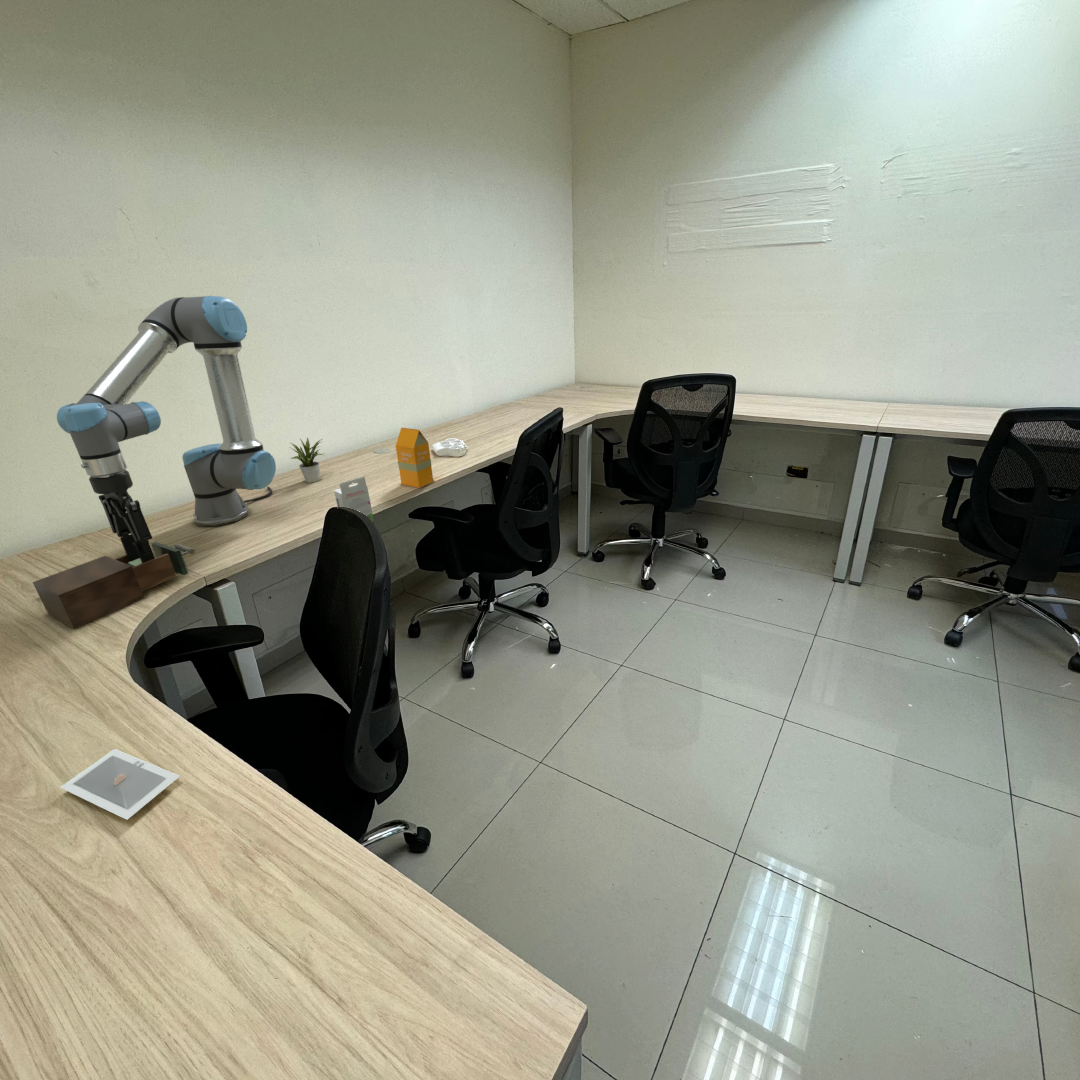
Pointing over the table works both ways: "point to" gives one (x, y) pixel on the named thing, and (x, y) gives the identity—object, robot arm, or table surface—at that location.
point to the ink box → (354, 496)
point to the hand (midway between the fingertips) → (143, 562)
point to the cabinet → (89, 591)
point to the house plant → (308, 461)
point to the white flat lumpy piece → (450, 447)
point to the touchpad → (120, 783)
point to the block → (135, 562)
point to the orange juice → (413, 458)
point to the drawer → (160, 565)
